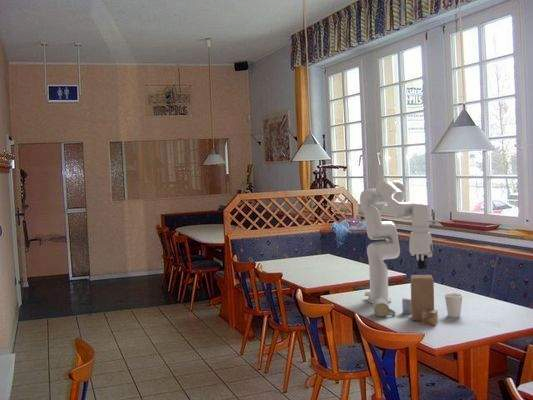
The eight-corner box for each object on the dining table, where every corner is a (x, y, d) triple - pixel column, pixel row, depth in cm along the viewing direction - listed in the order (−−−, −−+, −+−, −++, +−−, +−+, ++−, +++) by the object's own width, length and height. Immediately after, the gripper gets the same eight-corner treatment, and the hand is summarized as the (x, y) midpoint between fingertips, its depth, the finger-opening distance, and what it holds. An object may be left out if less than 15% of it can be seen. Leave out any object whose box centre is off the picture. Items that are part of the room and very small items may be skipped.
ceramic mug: (374, 317, 286) (374, 301, 286) (372, 313, 295) (372, 298, 294) (396, 317, 286) (396, 301, 285) (394, 313, 294) (394, 297, 294)
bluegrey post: (400, 313, 293) (400, 299, 292) (406, 311, 296) (405, 297, 296) (409, 315, 289) (409, 300, 289) (415, 312, 293) (414, 298, 292)
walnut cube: (421, 325, 271) (421, 312, 270) (424, 321, 276) (423, 309, 276) (435, 326, 268) (435, 313, 268) (437, 322, 274) (437, 309, 273)
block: (434, 321, 275) (433, 278, 274) (412, 321, 277) (411, 278, 276) (433, 316, 285) (432, 274, 284) (411, 315, 287) (410, 274, 286)
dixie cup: (441, 315, 287) (440, 294, 286) (455, 312, 290) (454, 292, 289) (453, 319, 279) (452, 297, 278) (467, 316, 282) (466, 295, 282)
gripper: (402, 229, 281) (403, 268, 282) (431, 231, 271) (432, 271, 272) (410, 228, 287) (411, 266, 288) (439, 229, 276) (440, 269, 277)
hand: (421, 268), depth 280 cm, fingers closed
